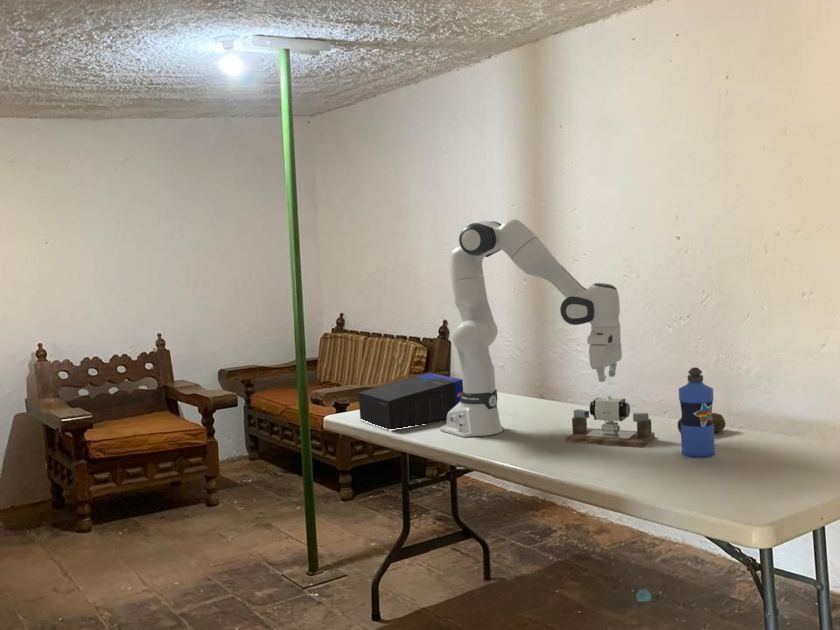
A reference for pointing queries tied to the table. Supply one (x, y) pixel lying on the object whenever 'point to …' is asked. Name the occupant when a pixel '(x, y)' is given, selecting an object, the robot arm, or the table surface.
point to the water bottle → (696, 417)
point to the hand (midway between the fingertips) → (607, 379)
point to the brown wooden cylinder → (717, 421)
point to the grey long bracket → (619, 435)
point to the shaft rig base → (638, 440)
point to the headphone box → (411, 401)
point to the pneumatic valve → (610, 413)
